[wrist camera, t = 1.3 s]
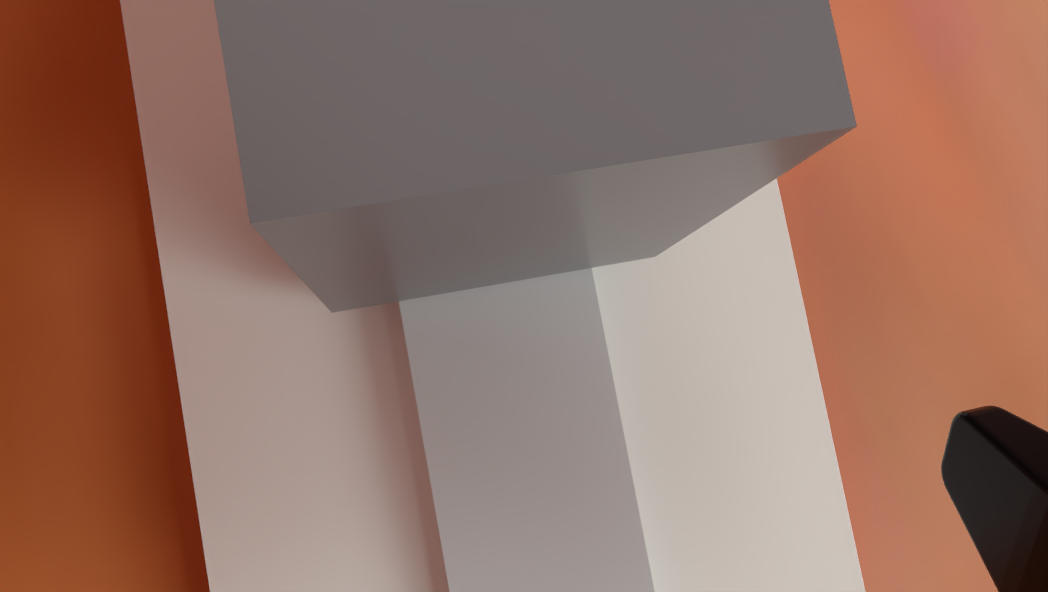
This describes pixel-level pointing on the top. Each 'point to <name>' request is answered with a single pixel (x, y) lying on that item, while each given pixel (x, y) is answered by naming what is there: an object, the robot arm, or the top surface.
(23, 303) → the top surface
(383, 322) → the rail plate
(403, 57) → the plate
